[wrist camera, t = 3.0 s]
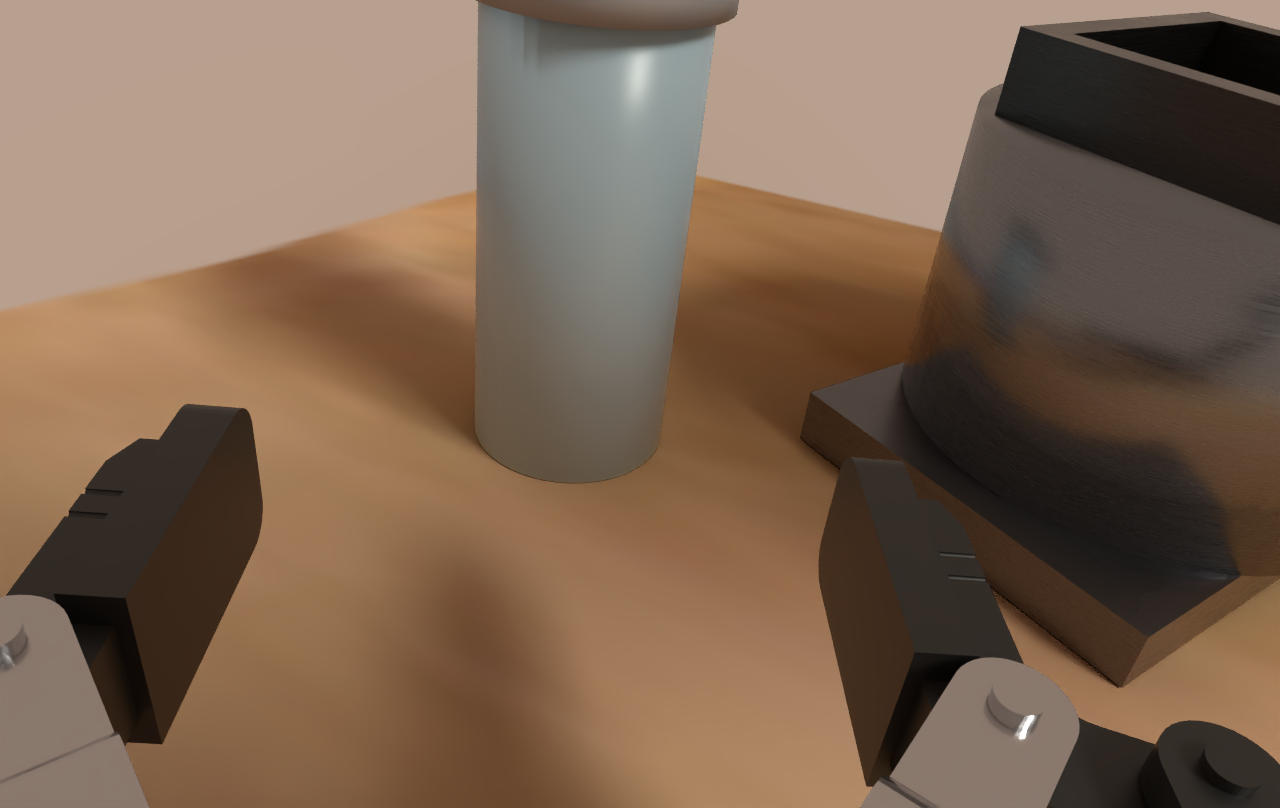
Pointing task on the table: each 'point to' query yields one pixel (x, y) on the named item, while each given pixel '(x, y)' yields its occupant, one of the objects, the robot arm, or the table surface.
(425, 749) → the table surface
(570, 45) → the grey lidded canister
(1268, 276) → the dark grey holder
